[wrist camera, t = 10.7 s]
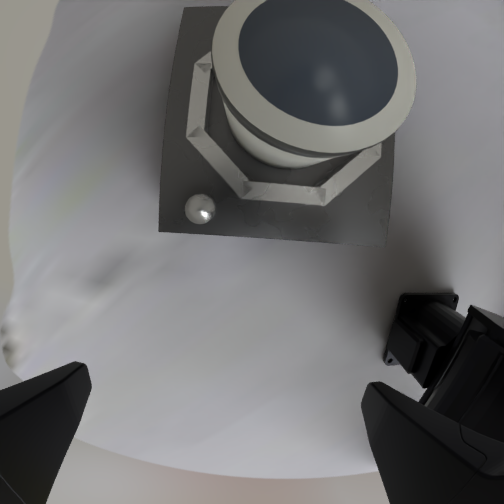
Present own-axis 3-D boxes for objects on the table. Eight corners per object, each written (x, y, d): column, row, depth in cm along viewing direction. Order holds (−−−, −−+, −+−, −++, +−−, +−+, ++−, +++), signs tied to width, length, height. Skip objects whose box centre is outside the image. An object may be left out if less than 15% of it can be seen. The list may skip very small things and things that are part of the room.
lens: (346, 68, 13) (407, 4, 6) (343, 176, 14) (420, 170, 7) (231, 54, 12) (222, -31, 6) (221, 165, 14) (198, 143, 7)
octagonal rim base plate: (361, 61, 17) (398, 26, 11) (353, 233, 20) (395, 252, 14) (196, 43, 17) (180, -4, 10) (179, 220, 19) (151, 235, 13)
